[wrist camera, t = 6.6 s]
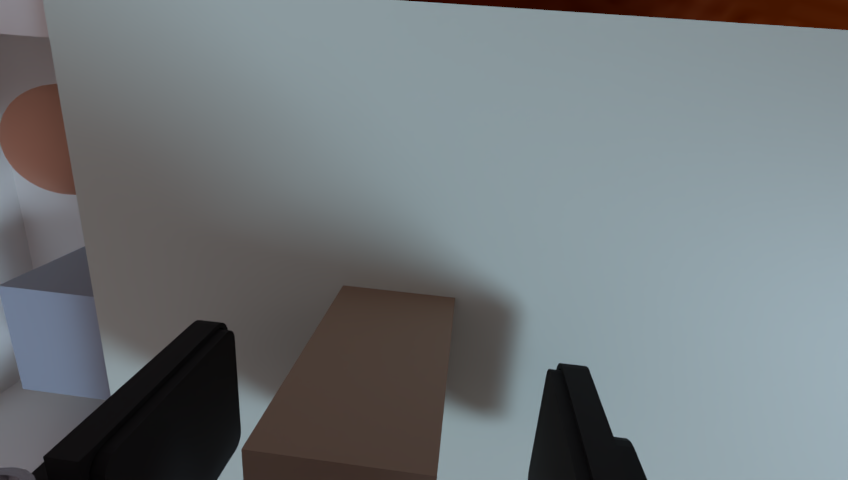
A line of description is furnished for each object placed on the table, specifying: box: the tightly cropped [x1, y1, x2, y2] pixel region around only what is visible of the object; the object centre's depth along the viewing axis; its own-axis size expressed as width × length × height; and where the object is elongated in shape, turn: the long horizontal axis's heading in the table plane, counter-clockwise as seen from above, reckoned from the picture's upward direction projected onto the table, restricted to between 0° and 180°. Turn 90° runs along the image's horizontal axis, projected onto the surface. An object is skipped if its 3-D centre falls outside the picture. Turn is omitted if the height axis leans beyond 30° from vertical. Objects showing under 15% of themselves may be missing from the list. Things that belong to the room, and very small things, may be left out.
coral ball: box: [0, 84, 76, 195], centre depth 16 cm, size 4×4×4 cm
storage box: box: [0, 0, 106, 473], centre depth 16 cm, size 20×15×7 cm
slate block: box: [0, 246, 111, 400], centre depth 18 cm, size 4×4×4 cm
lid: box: [43, 0, 848, 480], centre depth 9 cm, size 21×16×6 cm
